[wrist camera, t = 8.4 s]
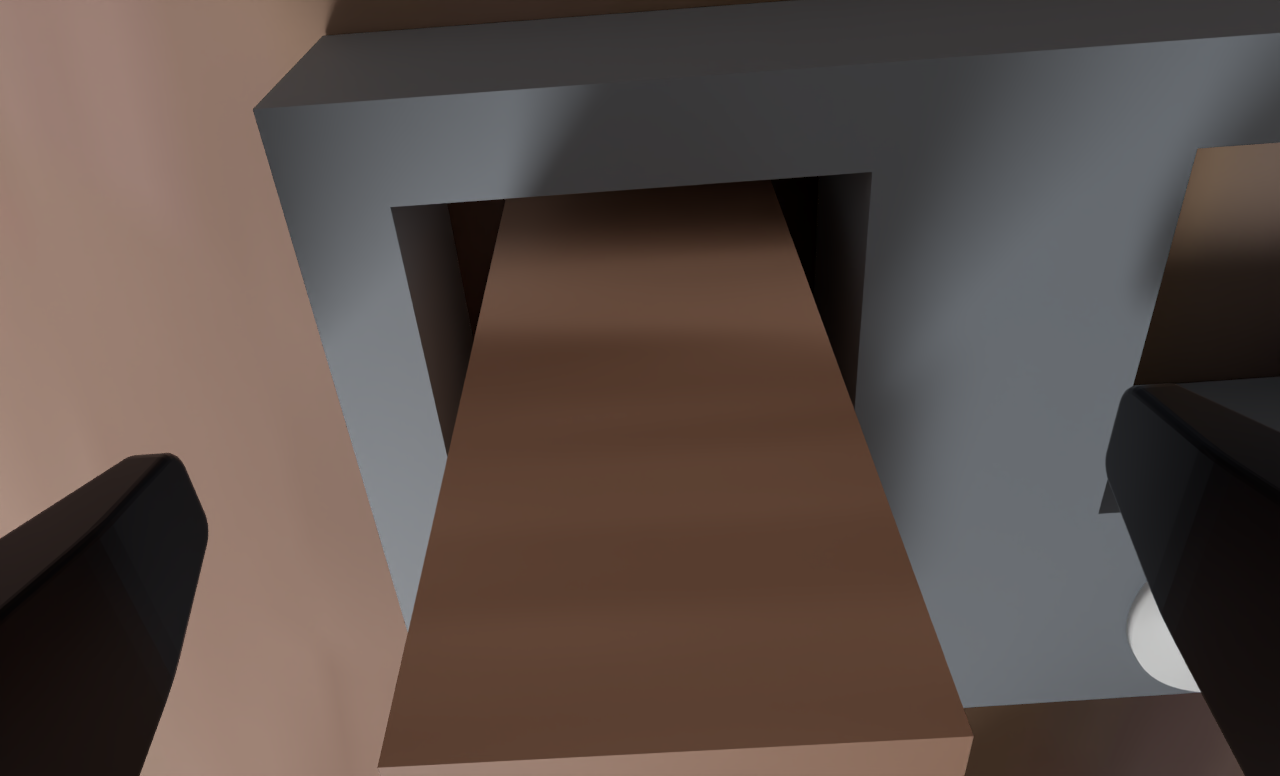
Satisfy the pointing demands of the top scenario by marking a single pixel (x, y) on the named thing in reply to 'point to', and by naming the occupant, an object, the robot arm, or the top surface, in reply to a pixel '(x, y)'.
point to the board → (823, 256)
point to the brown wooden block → (663, 520)
